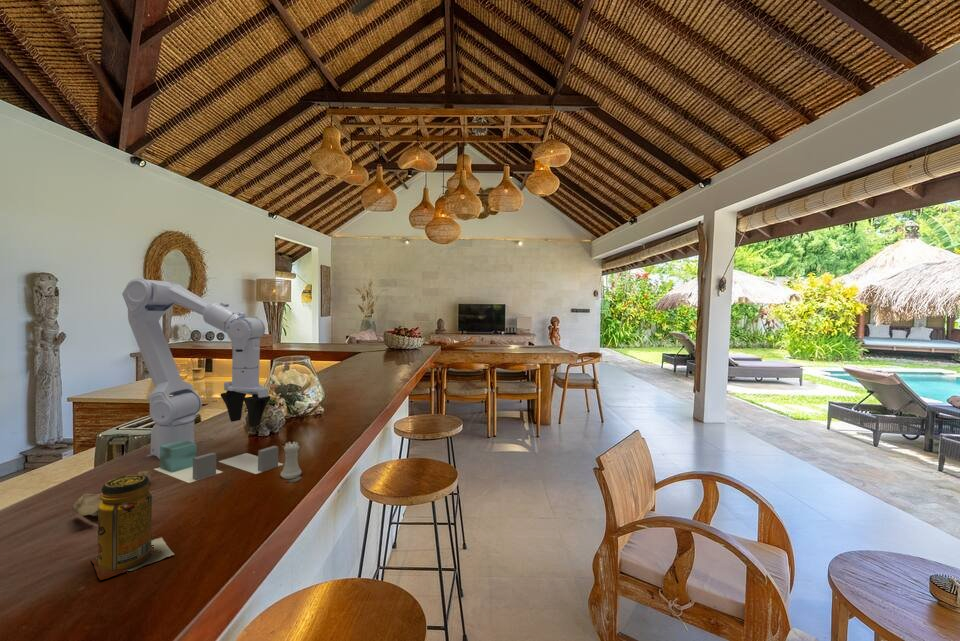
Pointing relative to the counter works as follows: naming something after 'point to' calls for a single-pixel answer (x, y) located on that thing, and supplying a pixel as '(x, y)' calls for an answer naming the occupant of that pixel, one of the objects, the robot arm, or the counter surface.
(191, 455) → the teal block
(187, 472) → the cream strip
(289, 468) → the rook chess piece
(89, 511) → the seashell
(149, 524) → the condiment
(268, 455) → the cream and grey bookend
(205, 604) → the counter surface
